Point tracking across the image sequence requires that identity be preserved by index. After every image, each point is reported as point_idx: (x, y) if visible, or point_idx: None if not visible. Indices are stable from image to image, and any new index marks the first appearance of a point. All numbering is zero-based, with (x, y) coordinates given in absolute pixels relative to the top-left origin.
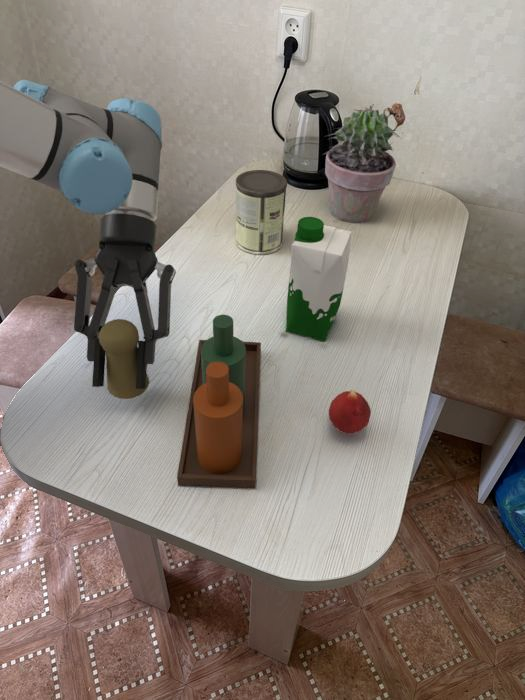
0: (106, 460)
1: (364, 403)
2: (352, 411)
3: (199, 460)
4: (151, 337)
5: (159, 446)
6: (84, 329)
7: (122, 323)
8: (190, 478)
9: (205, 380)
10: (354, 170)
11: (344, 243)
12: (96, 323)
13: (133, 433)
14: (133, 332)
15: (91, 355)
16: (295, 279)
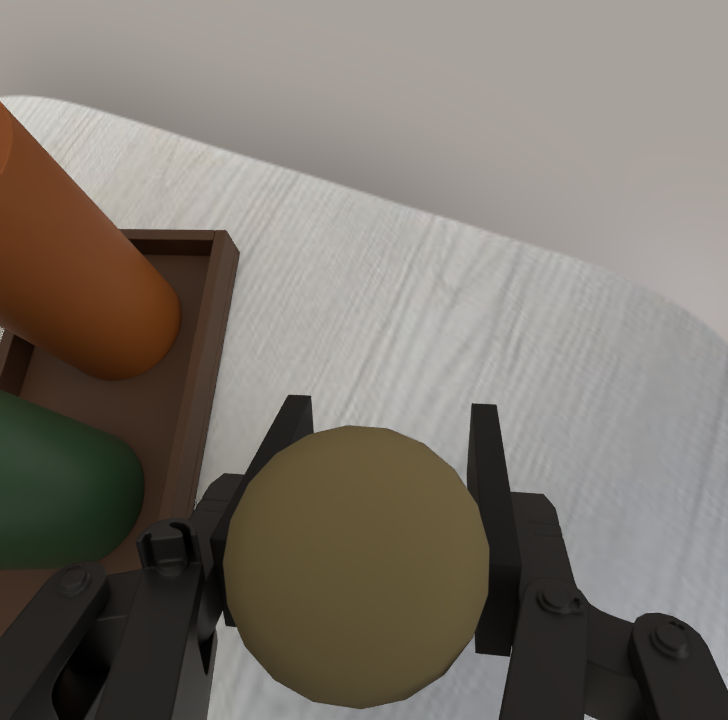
0: (431, 318)
1: None
2: None
3: (170, 288)
4: (145, 529)
5: (289, 364)
6: (622, 650)
7: (310, 604)
8: (194, 230)
9: (19, 416)
10: None
11: None
12: (533, 662)
13: (368, 409)
14: (234, 521)
15: (530, 514)
16: None
